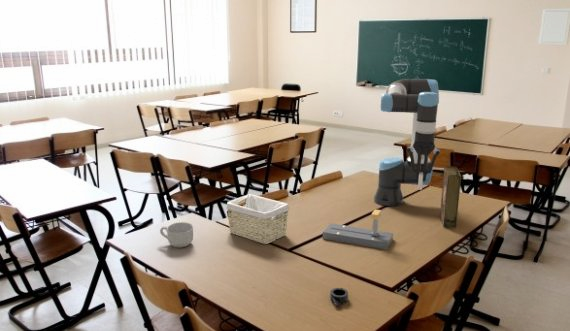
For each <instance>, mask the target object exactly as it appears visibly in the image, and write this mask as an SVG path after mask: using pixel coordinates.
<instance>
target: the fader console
mask: <svg viewBox="0 0 570 331" xmlns="http://www.w3.org/2000/svg"><path fill="white" fill-rule="evenodd" d="M372 231H373V229H370V228H362V227H356V226H350V225H344V224H338V223H337V224H336V223H329V225H328V226H327V227H326V228H325V229H324V230H323V231H322V239H324V240H329V241H334V242H335V241H336V242H340V243H341V242H342V243H348V244H352V245H359V246H364V247H370V248H375V249H376V248H377V249H381V250H388V249H389V248H390V246H389V245H391V243H392V242H393V239H394V233H393V232H388V231H383V230H378V232H380V233H379V235H378V236H373V235H371V233H372Z"/></svg>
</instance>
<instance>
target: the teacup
mask: <svg viewBox="0 0 570 331" xmlns="http://www.w3.org/2000/svg"><path fill="white" fill-rule="evenodd" d="M164 230H165V231H166V233H167V234H166V233H164ZM159 233H160V234H161V236H162V237H164V238H165V239H166V240H167V241H168V243H169V244H170V245H171V246H172V247H174V248H178V249H179V248H186V247H189V245H190V244H191V243H192V242H193V240H194V225H193V224H192V223H190V222H186V221H185V222H183V221H182V222H179V221H178V222H174V223H172V224H170V225H168V226H162V227H161V228H160V230H159Z"/></svg>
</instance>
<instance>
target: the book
mask: <svg viewBox="0 0 570 331" xmlns="http://www.w3.org/2000/svg"><path fill="white" fill-rule="evenodd" d="M443 167H444V168H443V178H442V190H441V191H442V192H441V200H440V202H441V203H440V211H439V217H440V221H441V224H442V227H443V228H444V227H446V228H447V227H451V228H454V229H455V228H457V224H458V223H457V221H458V212H459V202H460V193H461V192H460V191H461V181H462V174H461V173H460V171H459V169H458V167H457V166H453V165H452V166H448V165H445V166H443Z"/></svg>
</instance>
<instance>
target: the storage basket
mask: <svg viewBox="0 0 570 331" xmlns="http://www.w3.org/2000/svg"><path fill="white" fill-rule="evenodd" d="M241 204H243V206H241ZM226 209H227V216H228V225H229V233H231V234H232V235H235V234H236V236H239V237H241V238H245V239H249V240H251V241H254V242H258V243H260V244H263V245H267V244H269V243H272V242H275V241H276V239H277V240H278V239H281V238H282V237H284V236H286V235H287V227H288V215H289V211H290V206H289V203H286V202H282V201H278V200H275V199H271V198H267V197H263V196H259V195H255V194H252V193H249V194H246V195H243V196H240V197H238V198H235V199H231V200H229V201H227V203H226Z"/></svg>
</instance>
